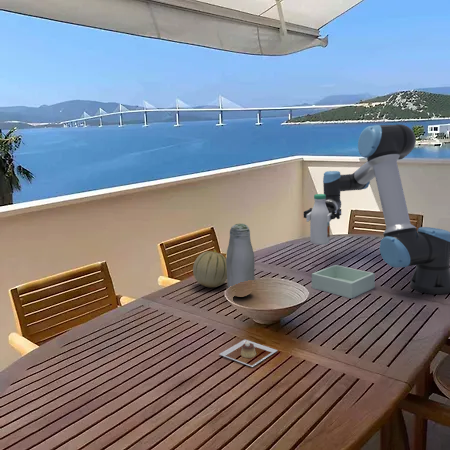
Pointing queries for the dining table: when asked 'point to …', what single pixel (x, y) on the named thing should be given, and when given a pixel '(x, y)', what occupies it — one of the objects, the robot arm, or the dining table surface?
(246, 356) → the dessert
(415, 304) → the dining table surface
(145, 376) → the dining table surface
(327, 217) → the robot arm
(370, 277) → the tote
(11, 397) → the dining table surface
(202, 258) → the cantaloupe
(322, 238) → the milk bottle
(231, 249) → the glass bottle
